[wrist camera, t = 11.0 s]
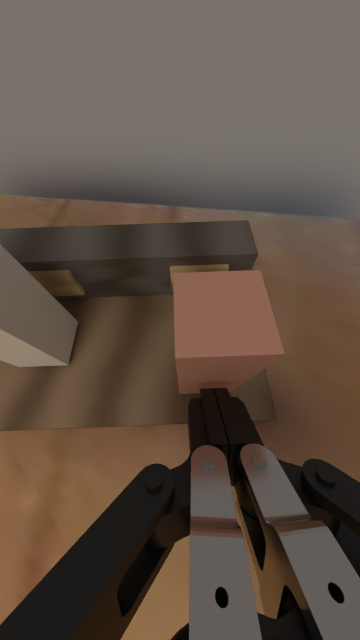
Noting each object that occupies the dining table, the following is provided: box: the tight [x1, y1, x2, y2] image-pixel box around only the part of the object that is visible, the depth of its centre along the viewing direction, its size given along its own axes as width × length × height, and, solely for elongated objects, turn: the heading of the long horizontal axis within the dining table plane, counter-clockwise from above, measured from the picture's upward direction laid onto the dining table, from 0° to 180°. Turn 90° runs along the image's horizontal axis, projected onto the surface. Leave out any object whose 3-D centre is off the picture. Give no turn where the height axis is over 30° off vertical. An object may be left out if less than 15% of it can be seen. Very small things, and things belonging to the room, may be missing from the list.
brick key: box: [173, 270, 285, 394], centre depth 12 cm, size 4×4×9 cm
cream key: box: [0, 244, 78, 367], centre depth 13 cm, size 4×4×9 cm
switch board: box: [0, 220, 276, 431], centre depth 16 cm, size 23×16×6 cm
